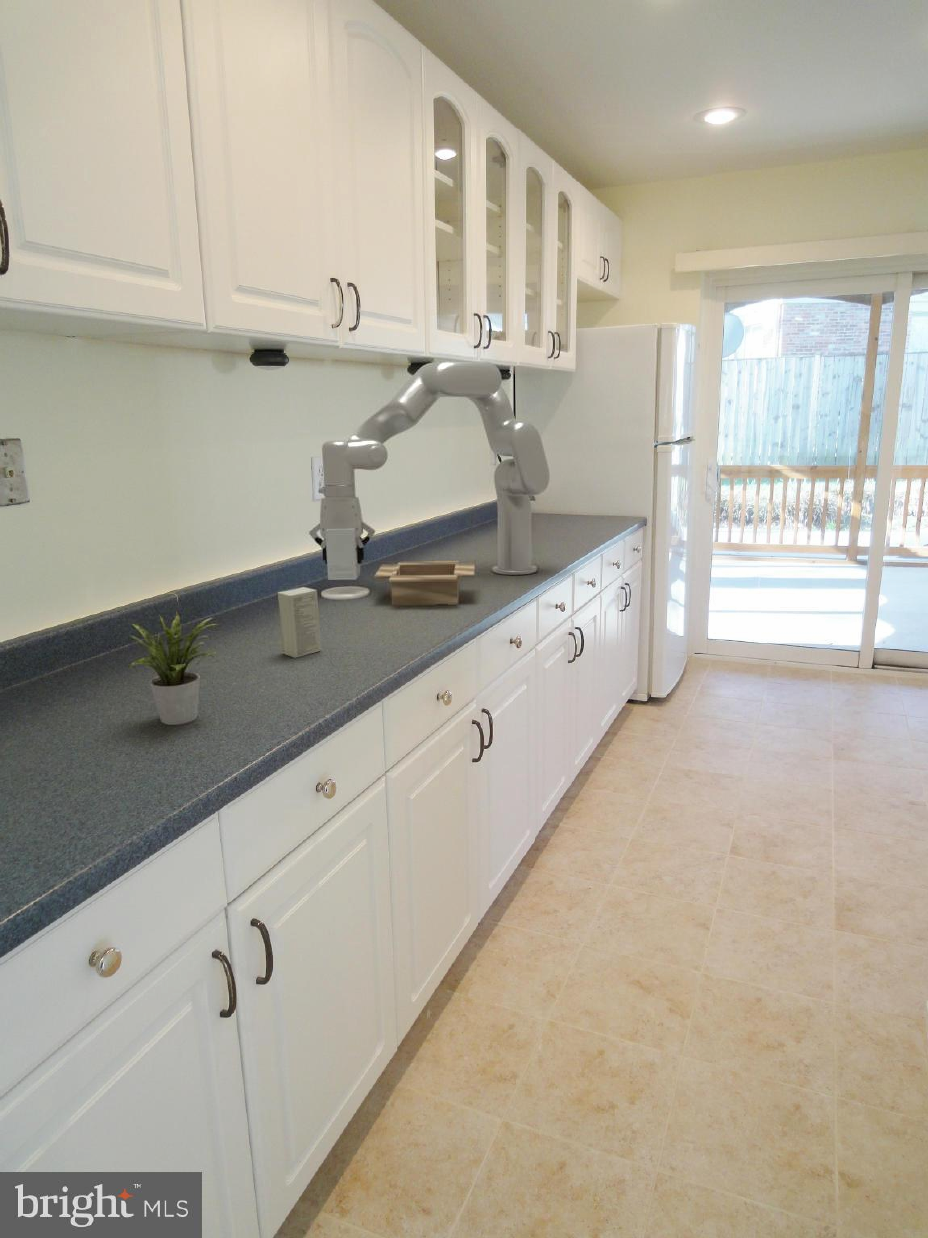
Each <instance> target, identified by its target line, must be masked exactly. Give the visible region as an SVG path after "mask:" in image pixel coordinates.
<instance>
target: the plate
mask: <svg viewBox="0 0 928 1238" xmlns="http://www.w3.org/2000/svg"><path fill="white" fill-rule="evenodd" d="M320 594H321V597H322V598H324V599H326V600H327V599H328V600H337V601H338V600H342V601H343V600H354V599H359V598H360V599H361V598H364V597H368V596H369V595H370V589H369V588H368V587H364V586H363V587H362V586H354V585H353V586H351V585H349V586H337V587H331V588H327V589H324V590H321V592H320Z"/></svg>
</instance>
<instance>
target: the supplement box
mask: <svg viewBox="0 0 928 1238" xmlns="http://www.w3.org/2000/svg"><path fill="white" fill-rule="evenodd" d="M325 532H326V551H327V564H326V566H327V581H328V580H329V581H331V580H334V581H339V580H340V581H341V580H347V581H349V580H351V581H353V580H355V581H356V580H357V579H358V577H360V575H361V564H358V563H357V548H358V544H357V539H356V538H355V529H327V530H325Z"/></svg>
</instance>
